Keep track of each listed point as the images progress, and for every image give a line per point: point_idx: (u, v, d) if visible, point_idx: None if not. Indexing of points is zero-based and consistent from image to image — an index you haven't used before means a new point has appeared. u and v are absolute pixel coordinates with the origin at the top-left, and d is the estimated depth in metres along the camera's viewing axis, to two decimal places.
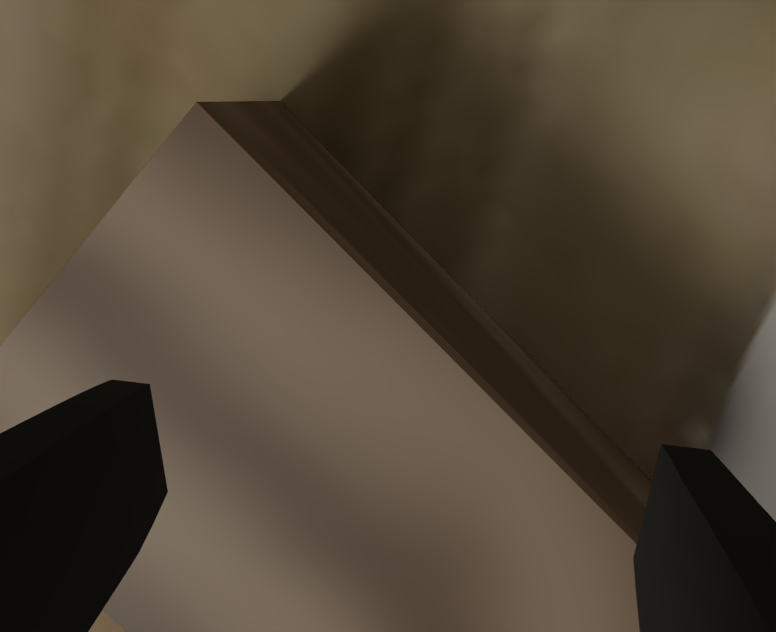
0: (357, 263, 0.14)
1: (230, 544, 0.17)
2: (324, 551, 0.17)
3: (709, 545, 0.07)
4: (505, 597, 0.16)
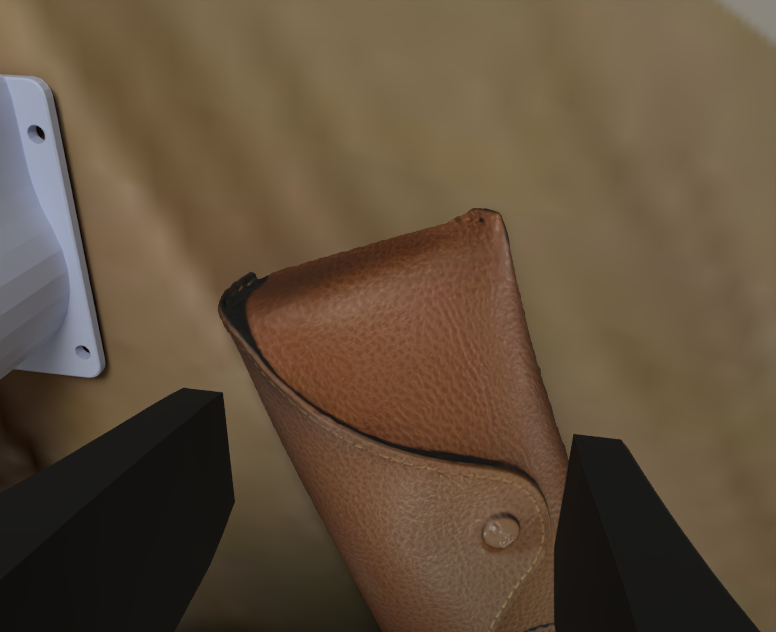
0: None
1: None
2: None
3: (597, 530, 0.07)
4: None
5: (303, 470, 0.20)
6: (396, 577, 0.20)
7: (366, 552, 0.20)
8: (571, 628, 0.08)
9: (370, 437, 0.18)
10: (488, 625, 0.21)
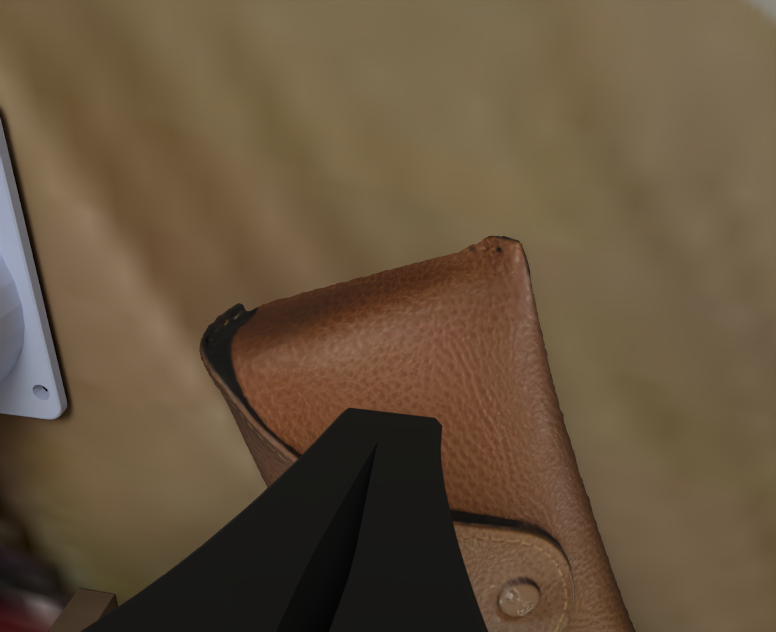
0: None
1: None
2: None
3: (368, 499, 0.07)
4: None
5: None
6: None
7: None
8: None
9: None
10: None
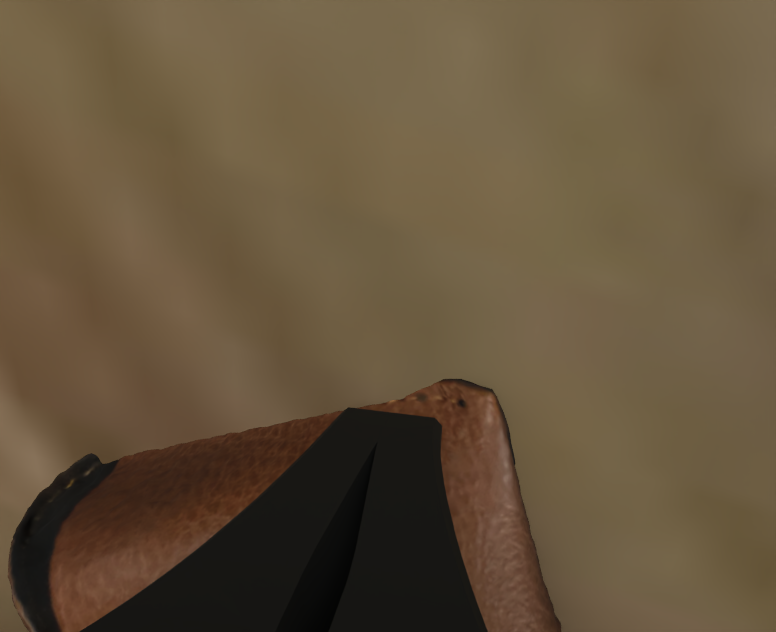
0: None
1: None
2: None
3: (367, 498, 0.07)
4: None
5: None
6: None
7: None
8: None
9: None
10: None
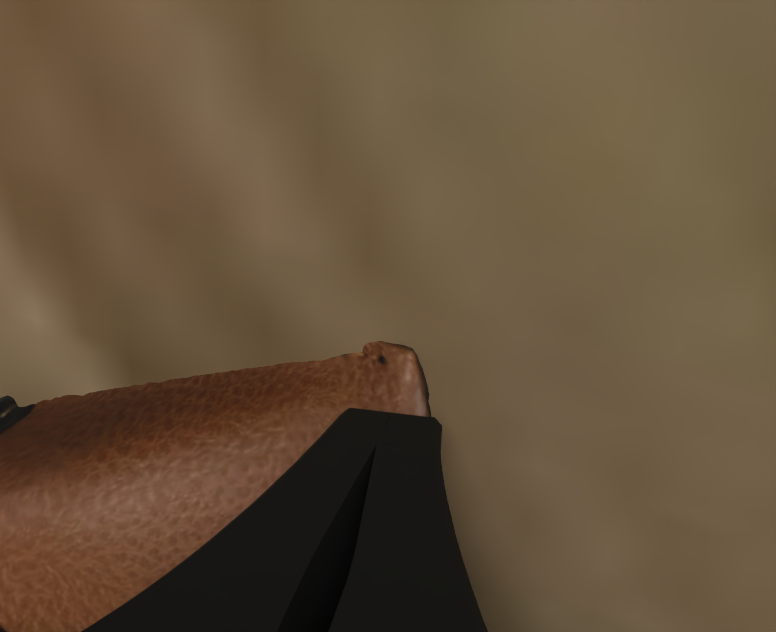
0: None
1: None
2: None
3: (368, 499, 0.07)
4: None
5: None
6: None
7: None
8: None
9: None
10: None
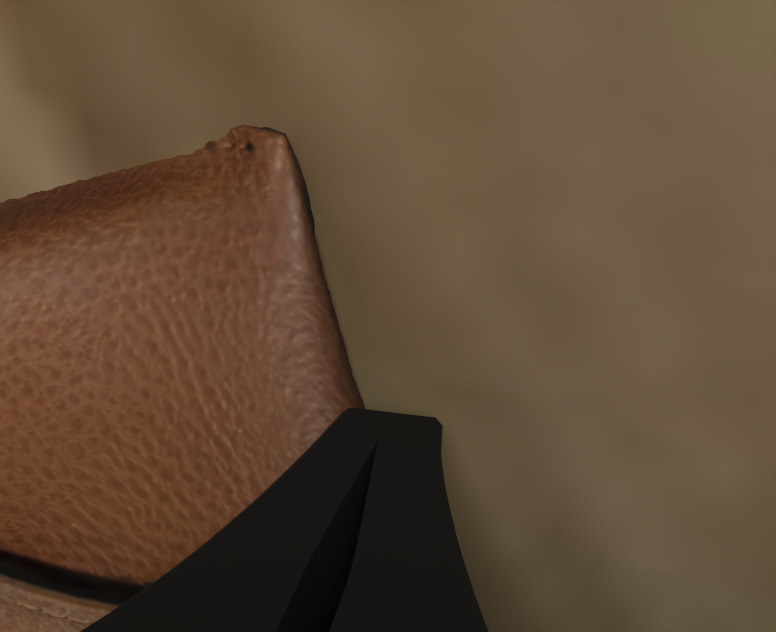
0: None
1: None
2: None
3: (368, 499, 0.07)
4: None
5: None
6: None
7: None
8: None
9: None
10: None
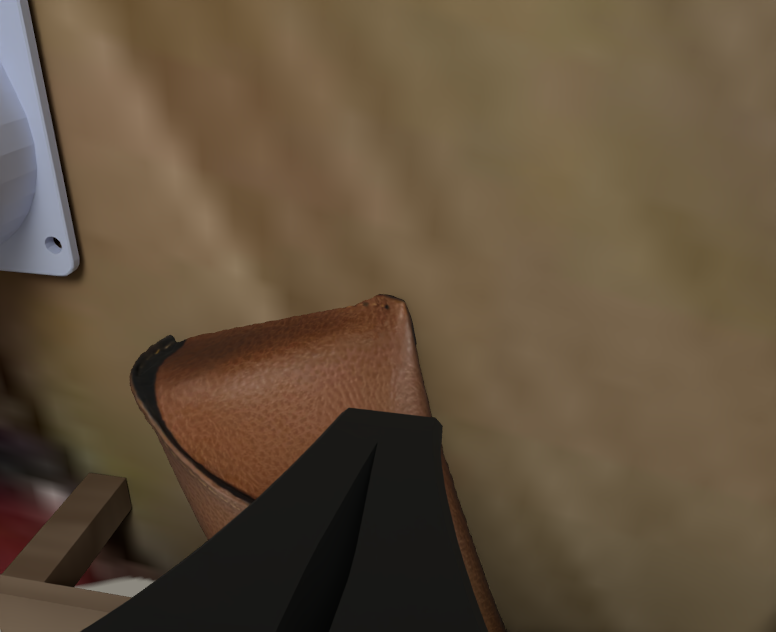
0: None
1: None
2: None
3: (367, 499, 0.07)
4: None
5: (207, 532, 0.21)
6: None
7: None
8: None
9: None
10: None
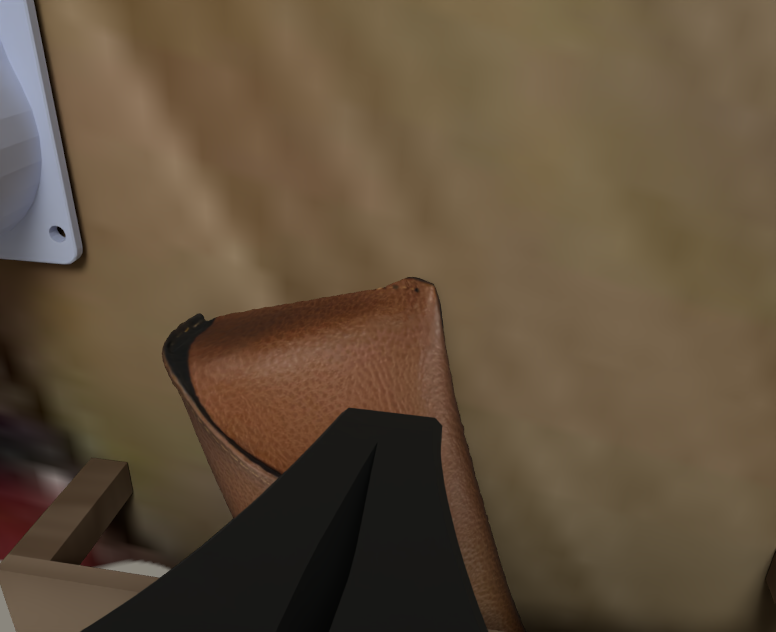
0: None
1: None
2: None
3: (368, 499, 0.07)
4: None
5: (233, 507, 0.21)
6: None
7: None
8: None
9: None
10: None
